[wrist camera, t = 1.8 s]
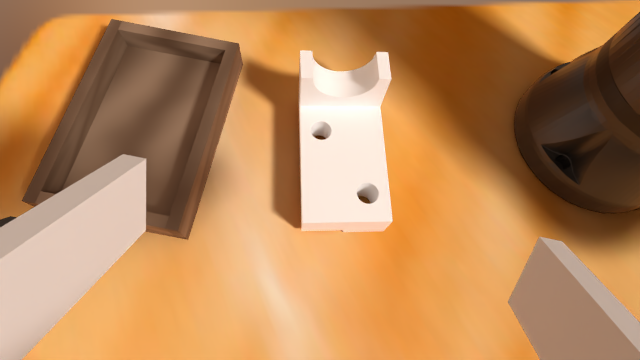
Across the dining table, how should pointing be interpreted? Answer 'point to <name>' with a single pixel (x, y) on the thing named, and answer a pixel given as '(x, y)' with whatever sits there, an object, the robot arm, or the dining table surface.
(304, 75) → the bracket
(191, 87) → the walnut tray
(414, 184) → the dining table surface
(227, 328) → the dining table surface
